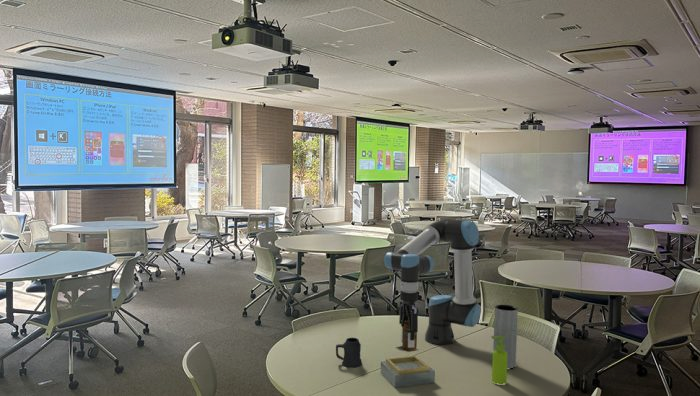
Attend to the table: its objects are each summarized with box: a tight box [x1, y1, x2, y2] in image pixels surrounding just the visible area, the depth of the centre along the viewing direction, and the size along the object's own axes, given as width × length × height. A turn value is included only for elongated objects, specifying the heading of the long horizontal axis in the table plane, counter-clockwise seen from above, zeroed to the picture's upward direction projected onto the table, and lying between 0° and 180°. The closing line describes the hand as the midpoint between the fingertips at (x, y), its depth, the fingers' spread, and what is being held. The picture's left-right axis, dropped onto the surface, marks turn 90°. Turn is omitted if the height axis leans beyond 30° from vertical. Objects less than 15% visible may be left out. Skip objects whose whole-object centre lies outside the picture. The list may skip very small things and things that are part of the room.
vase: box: [492, 304, 519, 368], centre depth 241 cm, size 10×10×27 cm
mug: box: [335, 337, 363, 368], centre depth 240 cm, size 12×9×11 cm
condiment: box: [394, 320, 421, 354], centre depth 224 cm, size 7×8×12 cm
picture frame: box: [380, 355, 436, 389], centre depth 227 cm, size 18×19×6 cm
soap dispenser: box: [490, 335, 508, 384], centre depth 221 cm, size 6×7×20 cm
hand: (407, 344), depth 224 cm, fingers closed on condiment, 6 cm apart
